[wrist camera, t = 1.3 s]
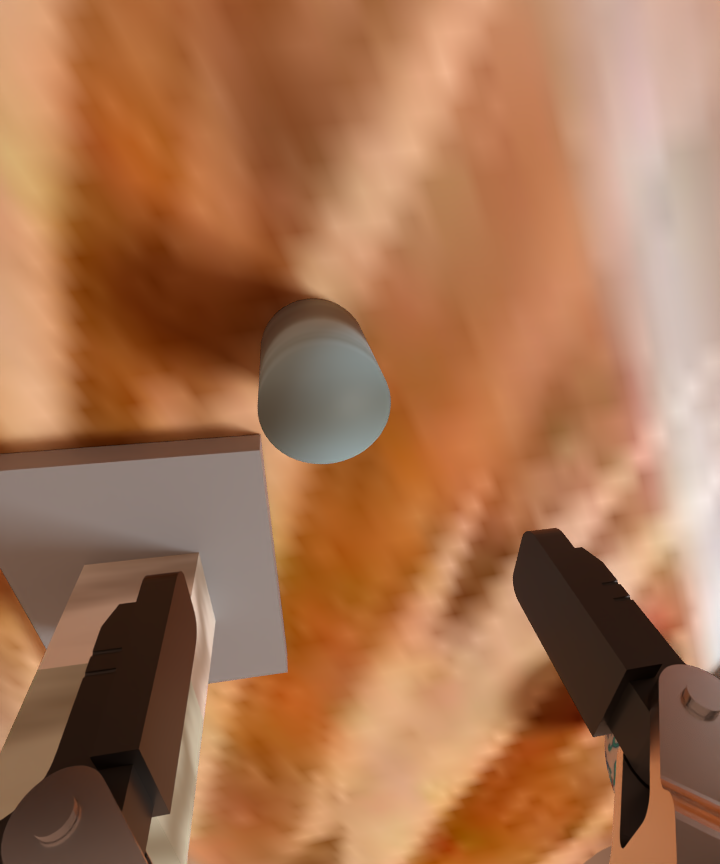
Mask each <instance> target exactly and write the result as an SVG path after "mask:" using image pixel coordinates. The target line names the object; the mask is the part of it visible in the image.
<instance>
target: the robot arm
mask: <svg viewBox="0 0 720 864" xmlns="http://www.w3.org/2000/svg"><path fill="white" fill-rule="evenodd" d="M513 586H514V591H515V594H516V597H517V599H518V601H519V603H520V605H521V607H522V609H523V610H524V612H525V614H526V616H527V618H528V620H529V621H530V623H531V625H532V627H533V629H534V631H535V632H536V634H537V636H538V638H539V640H540V641H541V643H542V645H543V647H544V649H545V651H546V652H547V654H548V656H549V658H550V660H551V661H552V663H553V665H554V667H555V669H556V671H557V672H558V674H559V676H560V678H561V680H562V682H563V683H564V685H565V687H566V689H567V691H568V692H569V694H570V696H571V698H572V700H573V702H574V703H575V705H576V707H577V709H578V711H579V713H580V714H581V716H582V718H583V720H584V722H585V723H586V725H587V727H588V729H589V731H590V733H591V734H592V736H593V737H596V736H602V735H607V734H613V735H614V737H615V739H616V740H617V742H618V744H619V748H618V751H617V759H616V778H615V796H614V815H613V833H612V849H611V856H610V861H609V864H720V679H718V678H717V677H715V676H714V675H712V674H710V673H708V672H707V671H704V670H702V669H700V668H697V667H694V666H690V665H686V664H685V663H684V662H683V661H682V660H681V659H680V657H679V656H678V655H677V654H676V653H675V651H674V650H673V649H672V648H671V646H670V645H669V644H668V643H667V641H666V640H665V639H664V638H663V636H662V635H661V634H660V633H659V631H658V630H657V629H656V628H655V626H654V625H653V624H652V623H651V622H650V620H649V619H648V618H647V617H646V615H645V614H644V613H643V612H642V610H641V609H640V608H639V607H638V605H637V604H636V603H635V602H634V600H631V599H630V595H629V594H628V593H627V592H626V590H625V589H624V588H623V587H622V586H621V584H618V582H617V579H616V578H615V577H614V576H613V574H612V573H611V572H610V571H609V569H608V568H607V567H606V566H605V564H604V563H603V562H602V561H600V560H599V559H598V558H596V557H595V556H593V555H592V554H591V553H589V552H588V551H587V550H585V549H584V548H582V547H580V548H574V547H573V545H572V544H571V543H570V541H569V540H568V539H567V538H566V536H565V535H564V534H563V532H562V531H560V530H559V529H557V528H552V529H543V530H535V531H527V532H525V533H524V534H523V537H522V540H521V544H520V548H519V552H518V557H517V561H516V565H515V569H514V573H513ZM196 640H197V624H196V616H195V612H194V608H193V605H192V601H191V597H190V594H189V590H188V587H187V583H186V579H185V576H184V574H183V572H182V571H179V572H170V573H162V574H153V575H146V576H145V577H144V579H143V581H142V584H141V587H140V590H139V594H138V597H137V600H136V602H131V603H123V604H119V605H118V606H117V607H116V609H115V610H114V611H113V612H112V614H111V615H110V616H109V617H108V619H107V620H106V621H105V622H104V624H103V625H102V626H101V629H100V631H99V634H98V637H97V640H96V643H95V645H94V648H93V651H92V652H93V655H92V656H91V657H90V659H89V662H88V665H87V668H86V671H85V677H84V678H83V679H82V682H81V684H80V687H79V690H78V693H77V696H76V698H75V701H74V704H73V707H72V710H71V712H70V715H69V718H68V721H67V724H66V726H65V729H64V732H63V735H62V738H61V740H60V743H59V746H58V749H57V752H56V754H55V757H54V760H53V762H52V764H51V767H50V769H49V770H48V772H47V774H46V776H45V777H44V779H43V780H42V781H40V782H39V783H38V784H37V785H36V786H34V787H33V788H32V789H31V790H30V791H29V792H28V793H27V794H26V795H25V796H24V798H23V799H22V800H21V801H20V803H19V804H18V805H17V807H16V808H15V810H14V811H13V812H12V813H10V814H9V815H7V816H6V817H4V818H3V819H1V820H0V864H153V863H152V861H151V859H150V857H149V855H148V853H147V851H146V847H147V841H148V836H149V830H150V824H151V819H152V817H157V816H162V815H167V814H170V812H171V806H172V799H173V792H174V786H175V779H176V773H177V766H178V760H179V753H180V747H181V740H182V733H183V727H184V720H185V714H186V707H187V701H188V694H189V688H190V681H191V674H192V668H193V661H194V655H195V648H196Z"/></svg>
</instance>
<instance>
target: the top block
mask: <svg viewBox="0 0 720 864" xmlns="http://www.w3.org/2000/svg"><path fill="white" fill-rule="evenodd" d="M87 665H88V663H86V664H78V665H71V666H63V667H56V668H49V669H41V670H37V672H36V674H35V677H34V679H33V681H32V683H31V686H30V688H29V690H28V692H27V695H26V697H25V699H24V701H23V704H22V706H21V708H20V710H19V712H18V715H17V717H16V719H15V721H14V724H13V726H12V728H11V730H10V733H9V735H8V737H7V739H6V742H5V744H4V746H3V748H2V751H1V753H0V820H1V819H3V818H4V817H6V816H7V815H9V814H10V813H12V812H13V811H14V810H15V808H16V807H17V805H18V804H19V803H20V801H21V800H22V799H23V798H24V796H25V795H26V794H27V793H28V792H29V791H30V790H31V789H32V788H33V787H34V786H36V785H37V784H38V783H39V782H40V781H42V780H43V779H44V777H45V776H46V774H47V772H48V770H49V769H50V767H51V764H52V762H53V760H54V757H55V754H56V752H57V749H58V746H59V743H60V740H61V738H62V735H63V732H64V729H65V726H66V724H67V721H68V718H69V715H70V712H71V710H72V707H73V704H74V701H75V698H76V696H77V693H78V690H79V687H80V684H81V682H82V679H83V678H84V677H85V671H86V668H87ZM203 723H204V720H203V717H202V714H201V710H200V707H199V704H198V701H197V698H196V695H195V691H194V688H193V685H192V682H191V681H190V688H189V694H188V701H187V707H186V714H185V720H184V727H183V733H182V740H181V747H180V753H179V760H178V766H177V773H176V779H175V786H174V792H173V799H172V806H171V812H170V814H167V815H162V816H157V817H152V819H151V824H150V830H149V836H148V841H147V847H146V851H147V853H148V855H149V857H150V859H151V861H152V863H153V864H187V857H188V849H189V840H190V832H191V824H192V815H193V807H194V798H195V790H196V781H197V773H198V765H199V756H200V748H201V739H202V731H203Z"/></svg>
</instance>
